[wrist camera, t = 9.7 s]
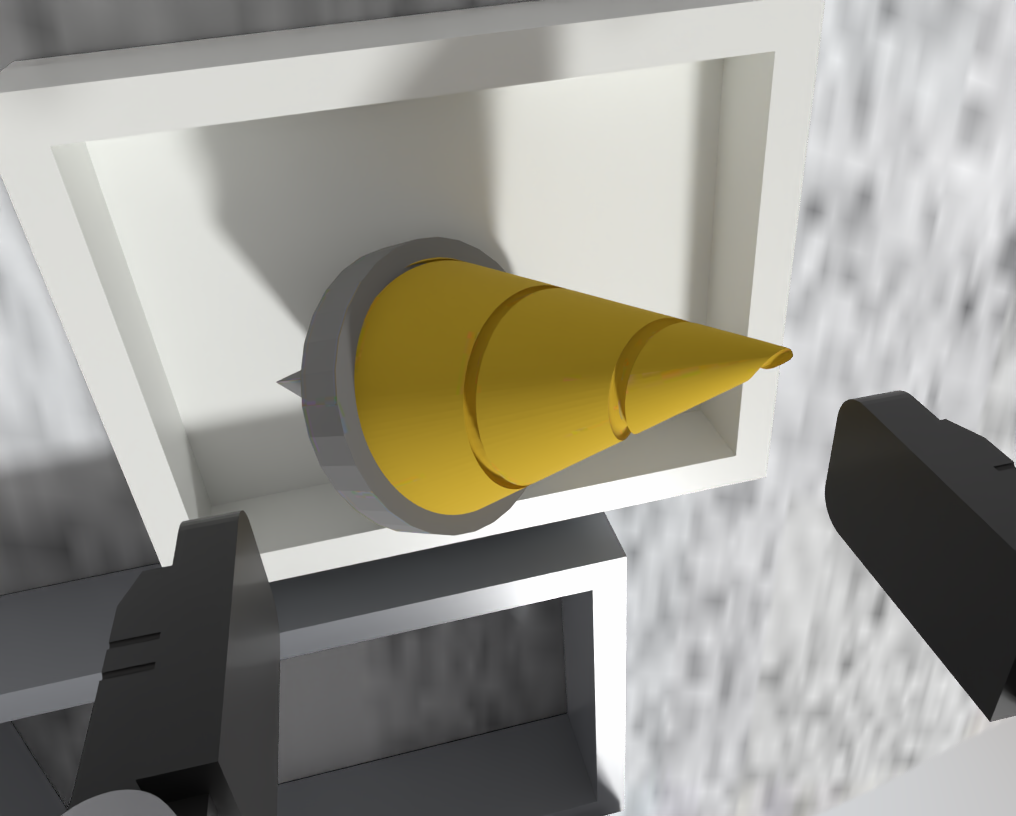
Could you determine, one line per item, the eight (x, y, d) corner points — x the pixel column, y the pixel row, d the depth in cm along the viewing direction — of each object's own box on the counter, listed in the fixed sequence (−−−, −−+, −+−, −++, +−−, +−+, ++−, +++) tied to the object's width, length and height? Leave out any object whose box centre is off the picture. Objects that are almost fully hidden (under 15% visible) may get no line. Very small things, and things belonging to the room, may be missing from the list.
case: (585, 476, 21) (626, 556, 19) (592, 723, 27) (624, 809, 24) (-100, 616, 19) (-155, 728, 17) (62, 855, 25) (39, 966, 22)
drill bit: (216, 245, 16) (684, 86, 9) (426, 294, 20) (858, 206, 13) (205, 531, 16) (689, 575, 9) (421, 522, 20) (867, 549, 13)
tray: (754, -25, 16) (826, -8, 14) (718, 417, 21) (766, 477, 19) (13, 61, 14) (-32, 96, 12) (186, 523, 19) (176, 601, 17)
